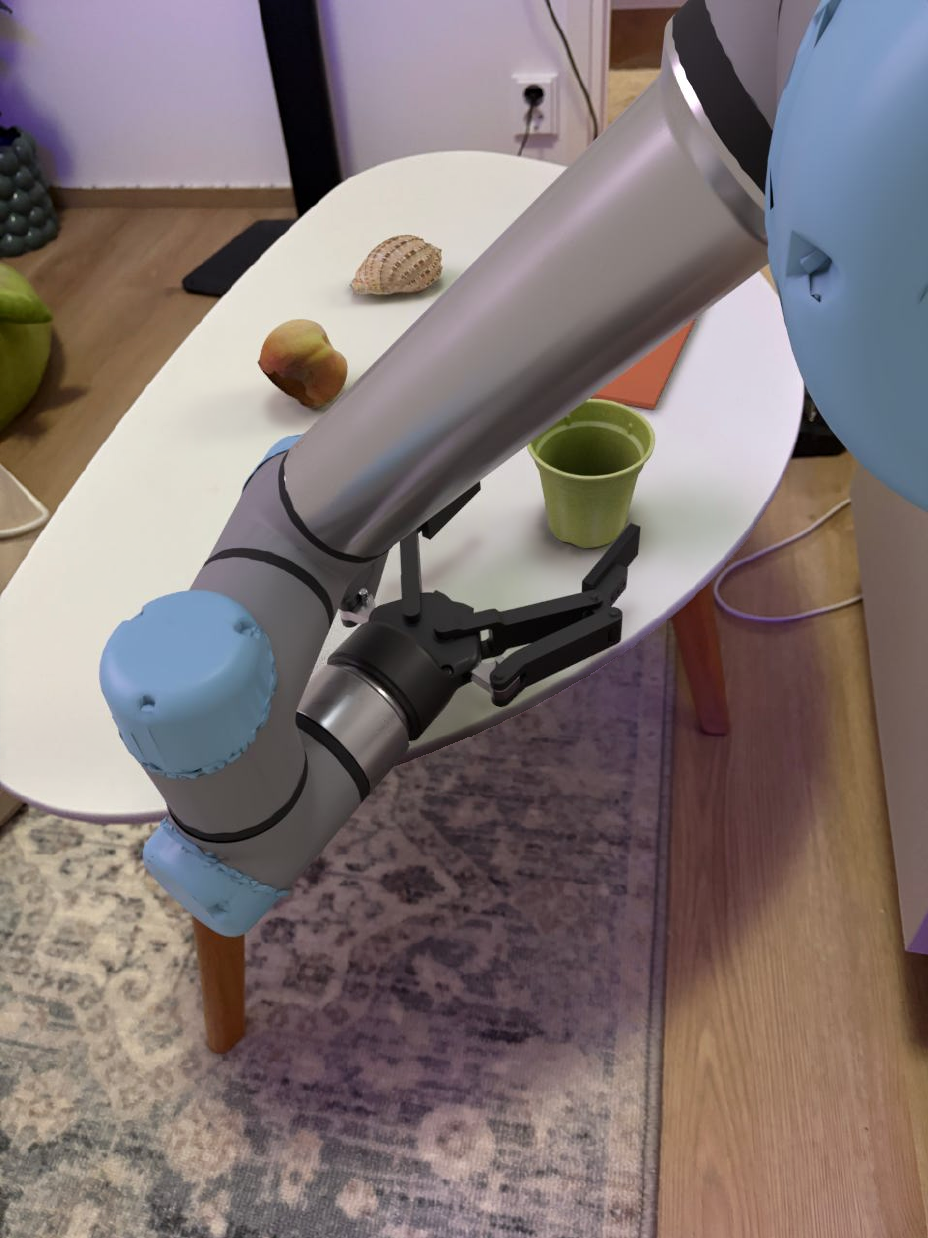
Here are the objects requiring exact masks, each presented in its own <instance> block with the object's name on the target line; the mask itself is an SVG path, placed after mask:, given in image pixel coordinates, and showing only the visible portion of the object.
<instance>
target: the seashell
mask: <svg viewBox="0 0 928 1238" xmlns="http://www.w3.org/2000/svg"><path fill="white" fill-rule="evenodd" d="M442 250H443V249H442V248H440V247H439V248H438V247H437V246H435V245H433V244H432V243H429V242H425V241H424V238H420V236H416V235H412V234H400V235H396V236H392V237H390V238H387V239H385V240H384V241H381V243H379V244H377V246H375V247H374V249H372V250H370V252H369V253H368V255H367V256H366V258H365V259H364V260H363V262H362V263H361V265H360V267H358V268H357V270H356V272H355V274H354V278H353V279H352V280H351V283H349V287H351V289H352V290H351V291H352V292H353V294H355V295H358V296H362V295H369V294H372V295H373V294H375V295H379V296H380V295H392V294H396V293H418V292H421V291H424V290H425V289H427V288H428V287H430V286H432V285H433V284H434V283H435V282H437V280H438V279H439V278H440V276H441V274H442V272H443V271H442V270H443V265H442V263H441V262H442V259H443V257H442Z"/></svg>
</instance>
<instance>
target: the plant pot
mask: <svg viewBox="0 0 928 1238" xmlns="http://www.w3.org/2000/svg"><path fill="white" fill-rule="evenodd" d="M655 446H656V435H655V431H654V428H653V426H651V423H650V422H649V421H648V420H647V418H646V417H645V416H643V415H642V414H641V413H640V412H638V411H637V410H635V409H634V408H632V407H629V406H628V405H625V404H620V403H616V402H613V401H608V400H602V399H592V398H589V399H588V400H587V401H585V402H584V403H583V404H581V405H580V406H579V407H577V408H576V409H575V410H573V411H572V412H571V413H569V414H568V415H567V416H565V417H564V418H563V419H561V420H560V421H559V422H557V423H556V424H555V425H553V426H552V427H551V428H549V429H548V430H547V431H545V432H544V433H543V434H541V435H540V436H539V437H537V438H536V439H535V440H534V441H532V442H531V443H530V444H528V445H527V446H526V448H527V451H528V453H529V456H530V457H531V458H532V460H533V461H534V464H535V466H536V468H537V470H538V473H539V478H540V483H541V489H542V494H543V500H544V505H545V512H546V516H547V522H548V527H549V531H550V532H551V533H552V534H553V536H554V537H555V538H557V539H558V540H559V541H560V542H563V543H570V544H573V545H575V546H576V547H578V548H583V549H592V548H599V547H602V546H606V545H608V544H610V543H612V542H614V541H616V540H617V539H618V537H619V536H620V535H621V534H622V531H624V528H625V527H626V522H627V519H628V515H629V512H630V507H631V503H632V500H633V497H634V493H635V489H636V485H637V482H638V477H639V475H640V473H641V472H642V471H643V469H644V466H645V464H646V463H647V462H648V460H649V459H650V458H651V456H652V455H653V452H654V449H655Z"/></svg>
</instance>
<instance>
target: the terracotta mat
mask: <svg viewBox="0 0 928 1238" xmlns="http://www.w3.org/2000/svg"><path fill="white" fill-rule="evenodd" d="M696 319H697V318H696ZM696 319H694V320H693V321H692V322H690V323H689V324H688V325H686V326H685V327H684V328H682V329H681V330H680V331H678V332H677V333H676V334H674V335H673V336H672V337H670V338H669V339H668V340H666V341H665V342H664V343H662V344H661V345H660V346H658V347H657V348H656V349H654V350H653V351H652V352H650V353H649V354H648V355H646V356H645V357H644V358H643V359H641V360H640V361H639V362H637V363H636V364H635V365H633V366H632V367H631V368H629V369H628V370H627V371H625V372H624V373H623V374H621V375H620V376H619V377H617V378H616V379H615V380H613V381H612V382H611V383H609V384H608V385H607V386H605V387H604V388H603V389H601V390H600V391H599V392H597V393H596V394H595V395H593V396H592V397H591V398H590V399H602V400H608V401H613V402H616V403H619V404H623V405H625V406H631V407H638V408H643V409H648V410H654V409H655V407H656V405H657V403H658V401H659V398H660V397H661V394H662V392H663V390H664V388H665V386H666V384H667V382H668V380H669V378H670V375H671V373H672V371H673V369H674V367H675V364H676V362H677V361H678V357H679V356H680V354H681V352H682V349H683V348H684V346H685V343H686V341H687V339H688V336H689V334H690V332H691V330H692V328H693V326H694V324H695V321H696Z"/></svg>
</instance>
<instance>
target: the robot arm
mask: <svg viewBox="0 0 928 1238" xmlns="http://www.w3.org/2000/svg"><path fill="white" fill-rule="evenodd" d="M663 34H664V35H663V45H662V54H661V64H660V72H659V74H658V75H657V76H656V77H655V78H654V79H653V80H652V81H651V82H650V83H649V84H648V85H647V86H646V87H645V88H644V89H643V90H642V91H641V92H640V93H639V94H638V95H637V97H636V98H634V99H633V100H632V102H630V104H628V106H626V108H625V109H623V111H622V112H620V113H619V115H618V116H617V117H615V119H614V120H613V121H612V122H610V124H609V125H608V126H607V127H606V128H605V129H604V130H603V131H602V132H601V133H600V134H599V135H598V136H597V137H596V138H595V139H594V140H593V141H592V142H591V143H590V144H589V145H588V146H587V147H586V148H585V149H584V150H583V151H582V152H581V153H580V154H579V155H578V156H577V157H576V158H575V159H574V160H573V161H572V162H571V163H570V164H569V165H568V166H567V167H566V168H565V169H564V170H563V171H562V172H561V173H560V174H559V175H558V176H557V177H556V178H555V179H554V181H552V182H551V183H550V184H549V185H548V186H547V188H546V189H544V190H543V191H542V193H540V195H538V196H537V198H535V199H534V200H533V201H532V202H531V204H530V205H529V206H527V208H525V210H523V212H522V213H521V214H520V215H519V216H518V217H517V218H516V219H515V220H514V221H513V222H512V223H511V224H510V225H509V226H508V227H506V229H505V230H504V231H503V232H502V233H501V234H500V235H499V236H498V237H497V238H496V239H495V240H494V241H493V242H492V243H491V244H489V246H488V247H487V248H486V249H484V251H483V252H482V253H481V254H480V255H479V256H478V257H477V258H476V259H475V260H474V261H473V262H472V263H471V264H470V265H469V267H468V268H466V269H465V271H464V272H463V273H461V275H459V276H458V278H456V279H455V281H454V282H452V284H451V285H450V286H448V287H447V289H446V290H445V291H444V292H443V293H441V295H440V296H438V297H437V299H436V300H435V301H434V302H433V303H432V304H431V305H430V306H428V308H426V310H425V311H424V312H423V313H422V314H421V315H420V316H419V317H418V318H417V319H416V320H415V321H414V322H413V323H412V324H411V325H410V326H409V327H408V328H407V329H406V330H405V331H404V332H403V333H402V334H401V335H400V336H399V337H397V339H396V340H395V341H394V342H393V343H392V344H391V345H390V346H389V347H388V348H387V349H386V350H385V351H384V352H383V353H382V354H381V355H380V356H379V357H378V358H377V359H376V360H375V361H374V362H373V363H372V364H371V365H370V366H369V367H368V368H367V369H366V370H365V372H364V373H362V374H361V376H359V377H358V379H356V381H355V382H354V383H353V384H351V385H350V386H349V388H348V389H347V390H346V391H344V393H343V394H341V396H340V397H339V398H338V399H337V400H336V401H335V402H334V403H333V404H332V405H331V406H330V407H329V408H328V409H327V410H325V412H324V413H323V414H322V415H321V416H320V417H319V418H318V419H317V420H316V421H315V422H314V423H313V424H312V425H310V427H309V428H308V429H307V430H306V431H305V432H304V433H300V434H294V435H288V436H286V437H283V438H281V439H280V440H278V441H277V442H275V443H274V444H273V445H272V446H271V447H270V448H269V449H268V451H267V452H266V454H265V455H264V457H263V458H262V460H261V461H259V463H258V464H257V465H256V466H255V467H254V469H253V471H252V472H251V473H250V475H249V476H248V477H247V479H246V480H245V482H244V484H243V486H242V489H241V495H240V497H239V499H238V501H237V503H236V505H235V506H234V508H233V511H232V513H231V514H230V516H229V518H228V520H227V521H226V524H225V525H224V527H223V530H221V533H220V535H219V536H218V538H217V540H216V542H215V544H214V546H213V548H212V550H211V552H210V554H209V555H208V557H207V559H206V560H205V561H204V563H203V565H202V567H201V568H200V570H199V571H198V573H197V575H196V576H195V578H194V580H193V582H192V584H191V585H190V587H189V589H188V590H181V591H176V592H172V593H169V594H165V595H162V596H159V597H157V598H155V599H152V600H150V601H148V602H146V603H145V604H144V605H142V607H141V610H140V612H139V613H138V614H136V615H134V616H133V617H131V619H128V620H123V621H121V622H120V623H119V624H118V626H117V627H116V628H115V629H114V630H113V631H112V633H111V634H110V636H109V638H108V639H107V641H106V643H105V646H104V648H103V650H102V652H101V653H102V654H101V657H100V660H99V669H98V677H99V678H98V680H99V685H100V686H99V687H100V690H101V693H102V696H103V698H104V700H105V702H106V704H107V706H108V708H109V711H110V713H111V719H112V720H113V722H114V724H115V725H116V728H117V731H118V735H119V738H120V739H121V741H122V743H123V744H124V746H125V748H126V750H127V752H128V753H129V754H130V755H131V756H132V757H133V758H134V759H135V760H136V762H137V763H138V764H139V765H140V766H141V768H142V769H143V771H144V772H145V773H146V775H147V776H148V778H149V779H150V780H151V782H152V784H153V785H154V787H155V788H156V789H157V791H158V793H159V794H160V796H161V797H162V799H163V800H164V802H165V805H166V810H167V811H168V813H169V815H166V816H165V817H164V818H163V819H162V820H161V821H160V823H159V826H158V827H157V828H156V829H155V831H154V832H153V833H152V834H151V835H150V837H149V838H148V840H146V842H145V843H144V846H143V849H142V862H143V865H144V867H145V868H146V870H147V871H148V872H149V875H150V876H151V877H152V878H153V879H154V881H156V882H157V884H159V886H160V887H161V888H162V889H163V890H164V891H165V892H166V893H167V894H168V895H169V896H170V897H172V899H173V900H174V901H176V903H178V904H179V905H180V906H181V907H182V908H183V909H184V910H186V912H188V913H189V914H190V915H191V916H193V917H194V918H195V919H196V920H197V921H199V922H200V923H202V925H204V926H206V927H207V928H209V929H210V930H211V931H213V932H215V933H216V934H219V935H221V936H223V937H229V938H237V937H241V936H244V935H245V934H247V933H249V932H250V931H251V930H252V929H253V928H254V926H255V925H256V924H258V923H259V921H260V920H261V919H262V918H264V916H265V915H266V914H267V913H268V912H269V911H270V909H272V907H274V905H275V904H277V902H279V900H280V899H283V898H284V897H287V896H288V895H289V894H290V892H291V890H292V887H293V886H294V885H295V884H296V883H297V882H298V881H299V879H300V878H301V876H303V874H304V873H305V872H306V870H307V869H308V868H309V867H310V866H311V864H312V863H313V862H314V861H315V860H316V859H317V858H318V856H319V855H320V854H321V853H322V852H323V850H324V849H325V848H326V847H327V845H328V844H329V843H330V842H331V841H332V840H333V838H334V837H335V836H336V835H337V834H338V832H339V831H340V830H341V829H342V828H343V826H344V825H345V824H346V823H347V822H348V820H350V818H352V816H353V815H354V813H355V812H356V811H357V810H358V809H359V807H360V805H362V803H363V802H365V800H366V799H367V798H368V797H369V796H370V795H371V794H372V793H373V792H374V790H375V789H376V788H377V787H378V786H379V784H380V783H382V781H383V780H384V778H385V777H386V776H387V775H388V774H389V773H390V772H391V770H392V769H394V767H395V766H396V765H397V763H399V761H400V760H401V759H402V758H403V757H404V755H405V754H406V753H407V752H408V750H409V748H410V742H415V741H417V740H419V739H420V737H421V736H422V735H423V734H424V733H425V732H426V730H427V729H429V727H430V726H431V725H432V723H434V722H435V720H436V719H437V718H438V717H439V716H440V714H441V713H442V712H443V711H444V710H445V709H446V707H447V706H448V705H449V703H450V702H451V700H452V698H453V697H454V696H455V694H456V693H457V691H458V690H459V689H461V688H462V687H464V686H466V685H468V684H471V683H474V684H475V685H477V686H479V687H480V688H482V689H483V690H484V691H486V692H488V693H489V694H490V698H491V699H490V700H491V704H492V705H493V706H494V707H497V708H505V707H507V706H508V705H510V704H511V703H512V702H513V701H514V700H515V699H516V698H517V697H518V696H519V695H520V694H521V693H522V692H523V691H524V690H525V689H526V688H528V687H530V686H532V685H535V684H536V683H539V682H541V681H543V680H546V679H547V678H549V677H551V676H553V675H555V674H558V673H559V672H562V671H564V670H567V669H568V668H570V667H572V666H574V665H576V664H579V663H580V662H583V661H585V660H587V659H589V658H591V657H594V656H595V655H598V654H599V653H602V652H604V651H606V650H608V649H610V648H612V647H614V646H617V645H618V644H619V643H620V642H621V640H622V631H623V618H624V617H623V616H624V613H623V611H622V609H621V608H619V607H617V606H613V605H614V604H615V603H616V602H617V600H618V599H619V598H620V597H621V595H622V594H623V593H624V592H625V590H626V589H627V586H628V576H629V575H628V574H629V567H630V565H632V562H634V560H635V559H636V558H637V557H638V556H639V549H640V539H641V538H640V537H641V526H640V525H638V524H635V523H632V522H630V523H629V524H628V525H627V527H626V528H625V529H623V530H622V531H623V532H621V533H620V534H619V536H618V537H617V538H616V539H615V540H614V541H613V543H612V544H611V546H609V548H608V549H607V550H606V552H605V553H604V554H603V555H602V556H601V558H599V560H598V561H597V562H596V563H595V565H594V566H593V567H592V568H591V569H590V571H588V573H587V574H586V575H585V577H584V578H582V580H581V591H580V592H577V593H573V594H569V595H565V596H561V597H555V598H552V599H547V600H545V601H544V600H543V601H540V602H535V603H531V604H528V605H523V606H518V607H515V608H511V609H507V610H502V611H500V610H498V609H496V608H488V609H483V610H481V611H476V612H475V608H474V607H472V606H470V605H468V604H467V603H464V602H459V601H455V600H452V599H451V598H450V597H449V596H448V595H447V594H445V593H443V592H441V591H439V590H437V589H435V590H434V591H433V592H431V591H425V592H424V591H423V581H422V567H421V565H422V564H421V552H420V551H421V550H420V537H419V534H420V533H421V536H422V538H425V539H427V540H429V541H431V540H432V539H433V538H435V536H436V535H437V534H438V533H439V532H440V531H441V530H442V529H443V528H444V527H445V526H446V525H447V524H448V523H449V522H450V521H451V520H452V519H453V518H454V517H455V516H456V515H458V513H460V512H461V510H462V509H463V508H464V507H466V505H467V504H468V503H469V502H470V501H471V500H473V498H474V497H475V496H476V495H477V494H478V493H479V492H480V491H481V490H482V485H481V481H482V480H483V479H484V478H486V477H488V475H490V474H491V473H492V472H494V471H495V470H496V469H498V468H499V467H501V466H502V465H503V464H504V463H506V462H508V461H509V460H510V459H511V458H512V457H514V456H515V455H516V454H518V453H519V452H521V451H522V450H523V449H525V448H527V445H528V444H530V443H531V442H532V441H534V440H535V439H536V438H537V437H539V436H540V435H541V434H543V433H544V432H545V431H547V430H548V429H549V428H551V427H552V426H553V425H555V424H556V423H557V422H559V421H560V420H561V419H563V418H564V417H565V416H567V415H568V414H569V413H571V412H572V411H573V410H575V409H576V408H577V407H579V406H580V405H581V404H583V403H584V402H585V401H587V400H588V399H592V398H591V397H592V396H593V395H595V394H596V393H597V392H599V391H600V390H601V389H603V388H604V387H605V386H607V385H608V384H609V383H611V382H612V381H613V380H615V379H616V378H617V377H619V376H620V375H621V374H623V373H624V372H625V371H627V370H628V369H629V368H631V367H632V366H633V365H635V364H636V363H637V362H639V361H640V360H641V359H643V358H644V357H645V356H646V355H648V354H649V353H650V352H652V351H653V350H654V349H656V348H657V347H658V346H660V345H661V344H662V343H664V342H665V341H666V340H668V339H669V338H670V337H672V336H673V335H674V334H676V333H677V332H678V331H680V330H681V329H682V328H684V327H685V326H686V325H688V324H689V323H690V322H692V321H693V320H694V319H697V318H698V317H700V316H701V315H703V314H704V313H705V312H706V311H708V310H709V309H710V308H712V307H713V306H714V305H715V304H717V303H718V302H720V301H721V300H723V298H725V297H726V296H727V295H729V294H730V293H732V292H733V291H735V290H736V289H737V288H738V287H740V286H741V285H742V284H744V283H745V282H747V281H748V280H749V279H750V278H752V277H753V276H754V275H755V274H757V273H758V272H760V271H761V270H762V269H764V268H765V267H766V266H769V271H770V274H771V276H772V280H773V283H774V285H775V288H776V292H777V295H778V297H779V302H780V303H779V304H780V307H781V313H782V316H783V317H782V318H783V323H784V326H785V329H786V333H787V338H788V341H789V345H790V348H791V352H792V355H793V358H794V360H795V363H796V367H797V369H798V371H799V374H800V377H801V379H802V381H803V384H804V385H805V388H806V390H807V392H808V394H809V396H810V398H811V399H812V402H813V403H814V405H815V407H816V409H817V411H818V412H819V414H820V416H821V417H822V419H823V420H824V421H825V423H826V425H827V426H828V427H829V429H830V431H831V432H832V433H833V434H834V435H835V437H836V438H837V439H838V440H839V441H840V443H841V444H842V445H843V446H844V448H845V449H846V450H847V452H849V453H850V454H851V456H852V457H853V458H854V459H855V460H856V461H857V462H858V463H859V464H860V465H862V466H863V467H864V469H865V470H867V471H868V472H869V473H870V474H871V475H872V476H873V477H874V478H875V479H877V480H878V481H880V482H881V483H882V484H883V485H884V486H885V487H887V488H888V489H890V490H891V491H892V492H894V493H895V494H896V495H898V496H899V497H901V498H903V499H904V500H905V501H907V502H909V503H910V504H912V505H914V506H916V508H919V509H921V510H922V511H924V512H926V513H928V0H686V2H684V3H683V5H682V6H681V7H680V8H678V10H677V11H676V12H675V13H674V14H673V15H672V16H671V18H670V19H669V20H668V21H667V22H666V25H665V27H664V33H663ZM398 543H399V561H400V595H401V598H399V599H395V600H393V601H389V602H385V603H383V604H379V605H377V606H376V603H375V600H376V597H377V593H378V590H379V587H380V583H381V581H382V577H383V573H384V570H385V567H386V563H387V560H388V556H389V553H390V551H391V549H393V547H394V546H395V545H397V544H398ZM338 612H339V617H340V620H341V624H342V626H343V627H345V628H348V629H349V628H351V629H352V628H354V627H356V626H358V625H359V626H358V627H357V628H356V629H355V630H353V632H352V633H351V634H350V635H348V636H347V638H346V639H344V640H343V641H342V643H341V644H340V645H338V647H337V648H336V649H335V650H334V651H333V652H332V653H331V654H330V655H329V656H328V658H327V660H326V664H323V665H320V666H318V667H316V664H317V661H318V659H319V657H320V654H321V652H322V649H323V647H324V644H325V642H326V640H327V637H328V635H329V633H330V630H331V628H332V625H333V623H334V622H335V618H336V616H337V613H338ZM484 631H488V637H487V638H486V639H484V640H482V632H484ZM517 647H521V648H519V649H517V650H515V651H513V652H512V653H510V654H509V655H508V656H506V658H505V657H504V656H503V655H504V653H505V652H506V651H507V650H510V649H513V648H517ZM493 658H495V660H494V661H493V662H491V663H483V661H485V660H489V659H493ZM315 667H316V668H315Z"/></svg>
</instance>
